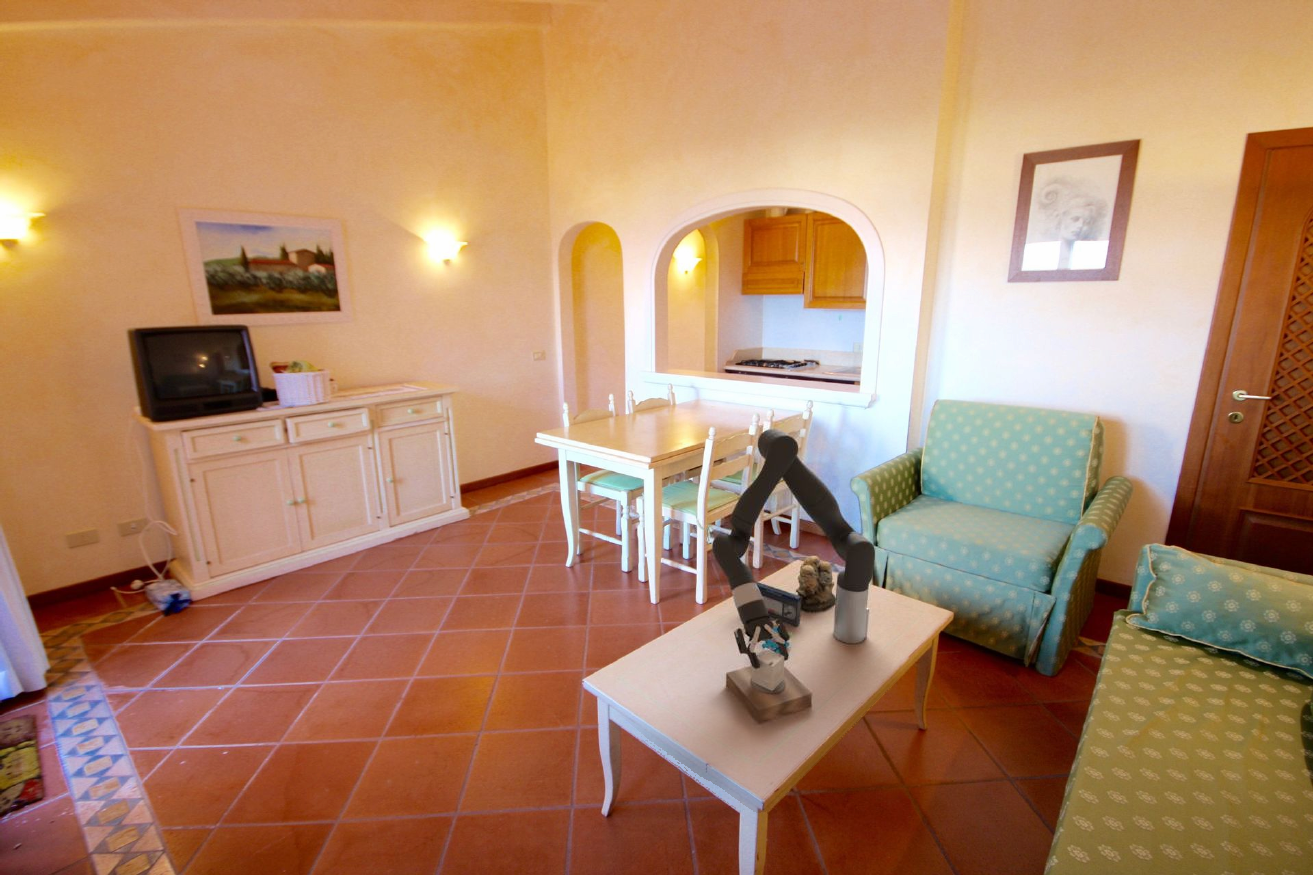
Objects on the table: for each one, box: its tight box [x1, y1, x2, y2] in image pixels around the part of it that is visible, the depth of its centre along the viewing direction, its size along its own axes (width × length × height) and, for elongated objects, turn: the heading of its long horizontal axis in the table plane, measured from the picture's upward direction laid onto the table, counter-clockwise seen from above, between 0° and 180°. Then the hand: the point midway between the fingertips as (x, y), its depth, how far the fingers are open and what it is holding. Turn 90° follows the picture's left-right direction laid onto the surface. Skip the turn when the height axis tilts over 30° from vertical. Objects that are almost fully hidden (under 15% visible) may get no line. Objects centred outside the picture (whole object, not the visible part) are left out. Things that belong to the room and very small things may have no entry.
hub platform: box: [725, 665, 813, 725], centre depth 154 cm, size 16×16×4 cm
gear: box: [761, 626, 793, 654], centre depth 176 cm, size 11×6×10 cm
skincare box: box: [752, 647, 785, 691], centre depth 153 cm, size 6×6×7 cm
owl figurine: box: [795, 555, 836, 613], centre depth 200 cm, size 18×12×17 cm, turn 130°
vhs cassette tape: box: [755, 580, 802, 628], centre depth 192 cm, size 18×3×10 cm, turn 49°
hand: (772, 664), depth 151 cm, fingers open, 8 cm apart
